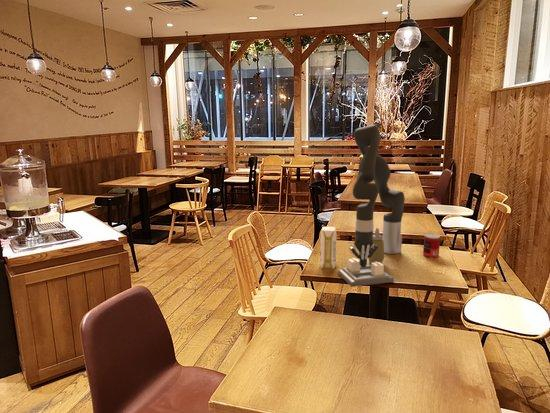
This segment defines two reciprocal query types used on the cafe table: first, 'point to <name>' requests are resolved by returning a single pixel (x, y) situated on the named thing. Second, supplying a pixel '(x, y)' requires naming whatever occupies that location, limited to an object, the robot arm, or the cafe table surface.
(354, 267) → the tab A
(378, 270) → the tab
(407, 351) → the cafe table surface
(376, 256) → the squeeze bottle
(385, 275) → the grey tray
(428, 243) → the canned food
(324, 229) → the juice carton
